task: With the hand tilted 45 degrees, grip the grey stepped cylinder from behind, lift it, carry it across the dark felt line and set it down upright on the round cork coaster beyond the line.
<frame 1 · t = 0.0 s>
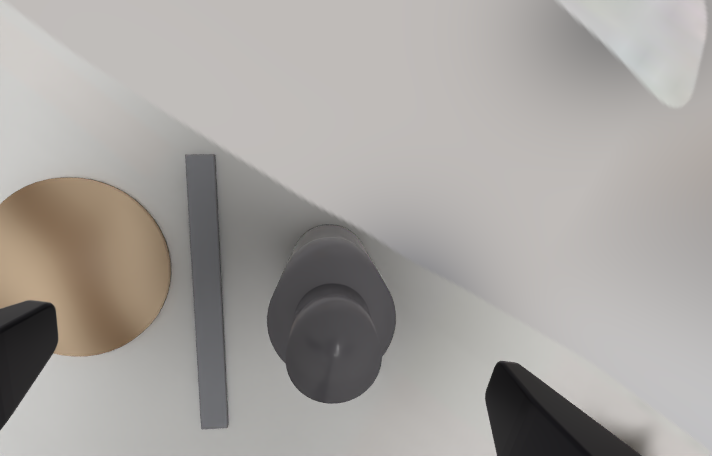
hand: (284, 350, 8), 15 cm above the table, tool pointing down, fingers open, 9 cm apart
cork coaster: (78, 267, 23), on the table
felt line: (208, 295, 24), on the table
grey stepped cylinder: (329, 261, 24), on the table
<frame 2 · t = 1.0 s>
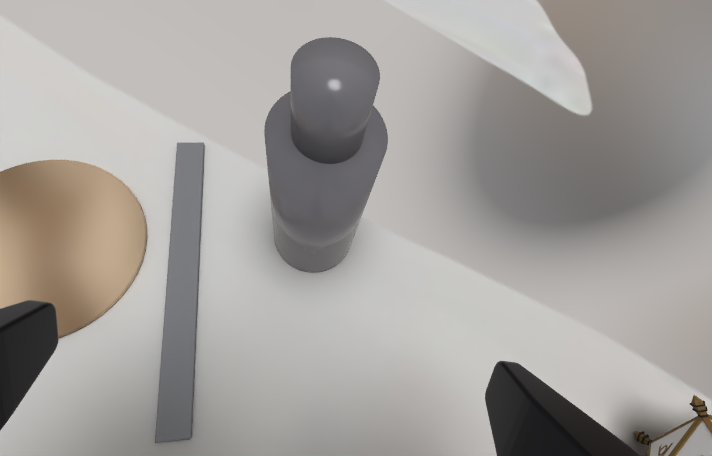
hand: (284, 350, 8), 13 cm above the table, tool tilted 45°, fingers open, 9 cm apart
cork coaster: (43, 246, 21), on the table
felt line: (184, 272, 22), on the table
grey stepped cylinder: (313, 235, 24), on the table
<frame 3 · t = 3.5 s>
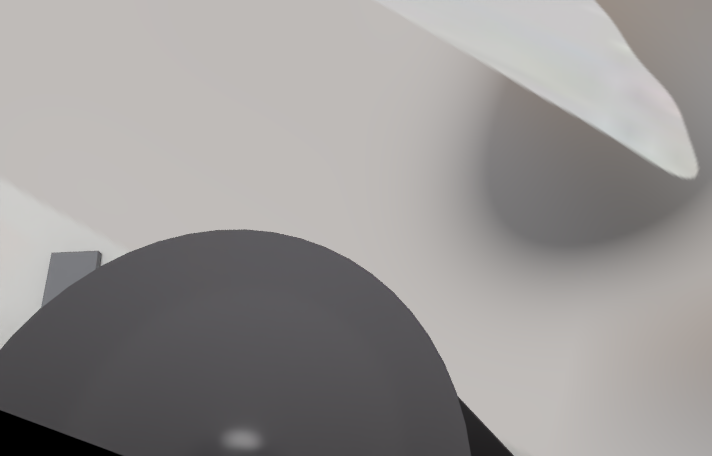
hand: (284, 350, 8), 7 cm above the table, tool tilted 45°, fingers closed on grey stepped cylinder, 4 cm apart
grey stepped cylinder: (279, 417, 14), on the table, touching gripper
when the fingers open (8 cm above the table, at t = 7.1 s): grey stepped cylinder stays where it is, resting on cork coaster.
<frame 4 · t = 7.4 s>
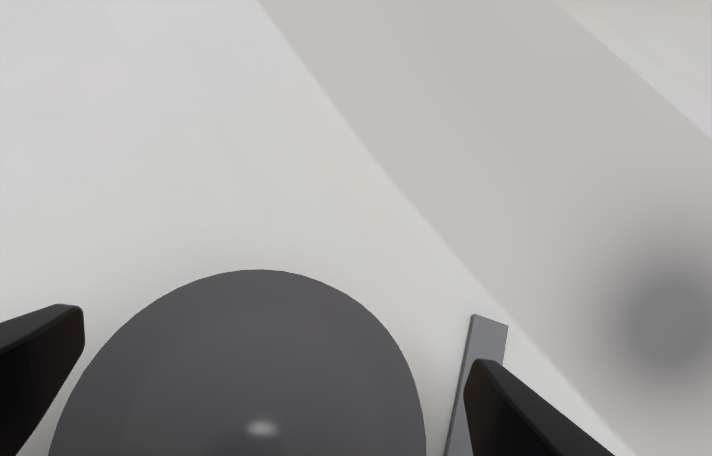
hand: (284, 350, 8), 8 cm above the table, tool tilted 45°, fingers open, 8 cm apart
grey stepped cylinder: (280, 418, 15), resting on cork coaster
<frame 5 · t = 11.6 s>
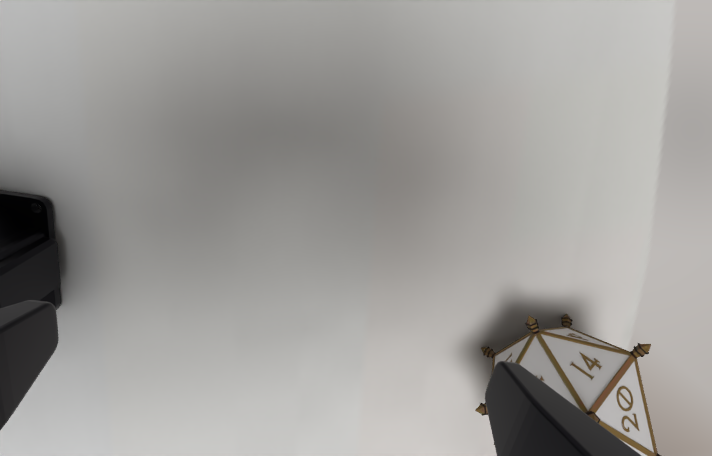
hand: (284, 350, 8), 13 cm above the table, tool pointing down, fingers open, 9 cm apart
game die: (529, 347, 25), on the table
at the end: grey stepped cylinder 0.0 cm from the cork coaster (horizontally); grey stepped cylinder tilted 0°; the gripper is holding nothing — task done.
